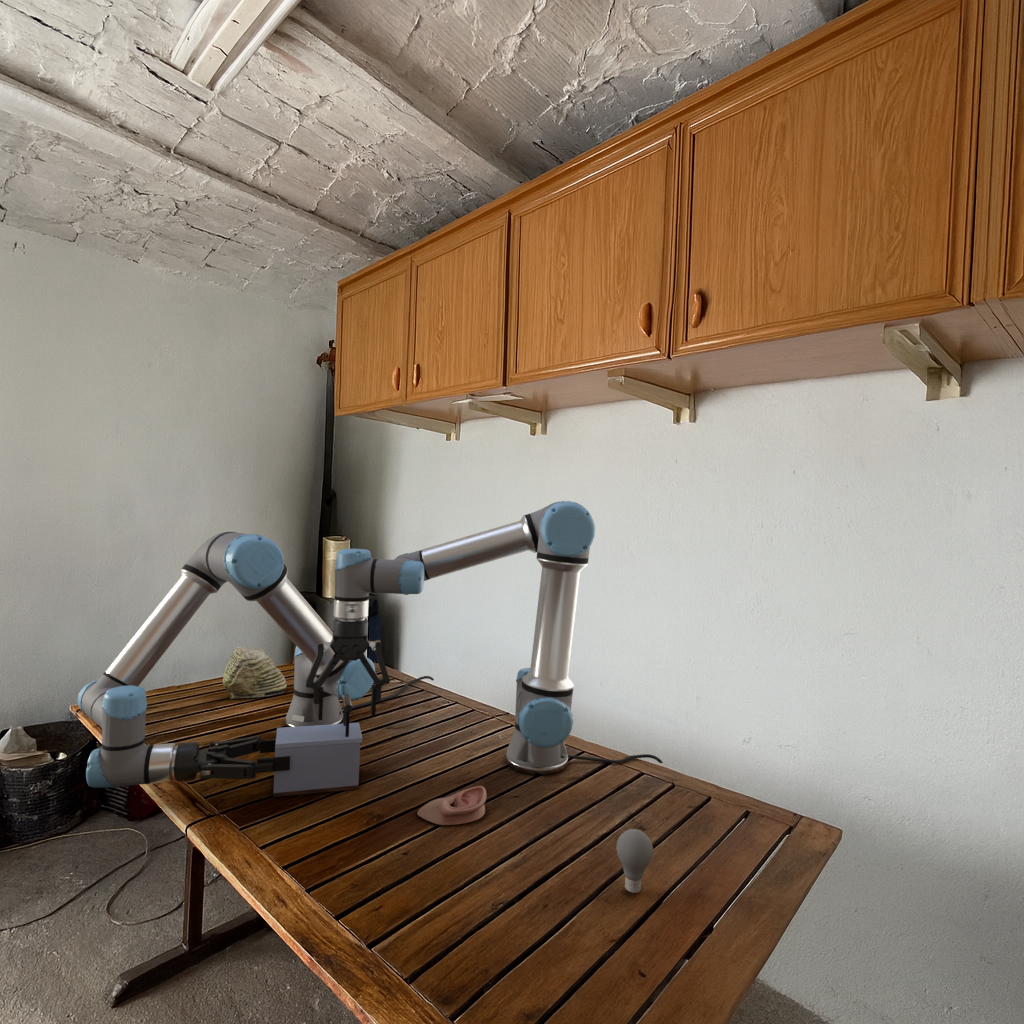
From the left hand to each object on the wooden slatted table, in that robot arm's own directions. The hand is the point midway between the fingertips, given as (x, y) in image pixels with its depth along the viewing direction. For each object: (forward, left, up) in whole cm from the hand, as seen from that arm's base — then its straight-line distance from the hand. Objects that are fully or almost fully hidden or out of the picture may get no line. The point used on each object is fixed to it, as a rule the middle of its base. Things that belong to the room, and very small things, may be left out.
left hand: (290, 753), depth 138 cm
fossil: (-27, -62, -7) cm, 68 cm away
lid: (-5, +3, +3) cm, 7 cm away
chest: (-5, +3, -7) cm, 9 cm away
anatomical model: (-16, +34, -7) cm, 38 cm away
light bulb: (-18, +74, -7) cm, 77 cm away
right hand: (-10, +6, +7) cm, 14 cm away
